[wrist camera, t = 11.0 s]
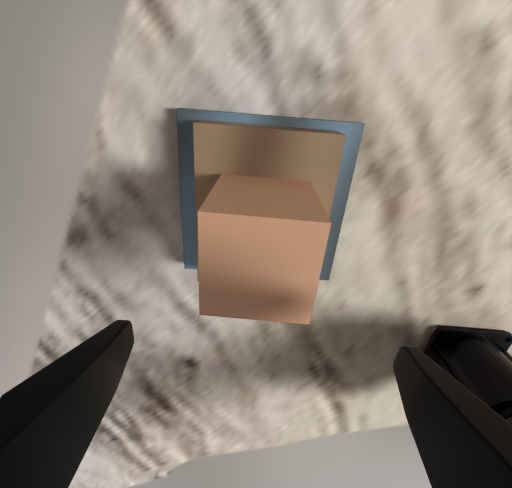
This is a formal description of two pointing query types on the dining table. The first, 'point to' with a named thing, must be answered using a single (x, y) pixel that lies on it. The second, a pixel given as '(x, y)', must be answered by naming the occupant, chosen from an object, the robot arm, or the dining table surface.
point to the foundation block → (264, 162)
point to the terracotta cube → (261, 249)
